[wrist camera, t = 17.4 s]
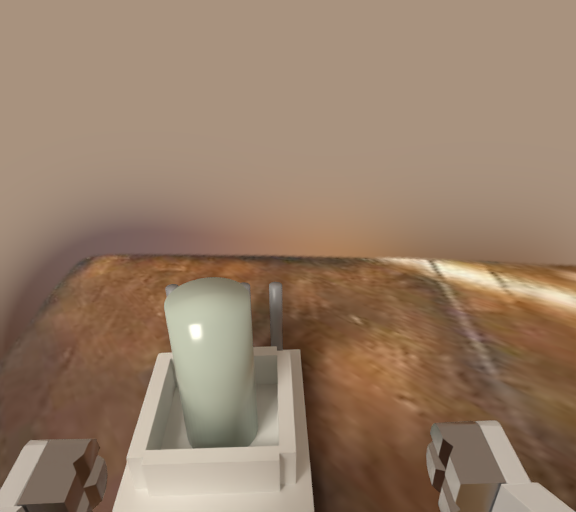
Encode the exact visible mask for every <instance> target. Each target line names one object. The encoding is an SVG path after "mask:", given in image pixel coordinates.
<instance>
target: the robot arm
mask: <svg viewBox="0 0 576 512" xmlns="http://www.w3.org/2000/svg"><path fill="white" fill-rule="evenodd" d="M430 434H431V437H432V440H433V441H432V442H431V443H430V444H429V445H428V447H427V454H426V457H427V468H428V473H429V477H430V480H431V483H432V486H433V487H434V488H435V489H436V490H437V491H439V492H440V497H439V502H438V505H439V508H440V511H441V512H575V511H574V510H573V509H571V508H570V507H569V506H567V505H566V504H565V503H564V502H562V501H561V500H560V499H558V498H557V497H556V496H555V495H553V494H552V493H551V492H549V491H548V490H547V489H546V488H544V487H543V486H542V485H541V484H539V483H538V482H531V481H530V479H529V477H528V475H527V473H526V471H525V470H524V468H523V466H522V464H521V462H520V460H519V458H518V456H517V455H516V453H515V451H514V449H513V447H512V445H511V443H510V441H509V440H508V438H507V436H506V434H505V432H504V430H503V428H502V426H501V425H500V423H498V422H497V421H496V420H491V421H475V422H474V421H462V422H445V423H434V424H433V425H432V427H431V432H430ZM99 449H100V446H99V444H98V442H97V439H56V440H30V441H29V442H28V443H27V444H26V445H25V446H24V447H23V449H22V451H21V453H20V455H19V457H18V458H17V460H16V462H15V464H14V466H13V468H12V469H11V471H10V473H9V475H8V477H7V479H6V481H5V482H4V484H3V486H2V488H1V490H0V512H93V511H92V510H93V509H94V508H95V507H96V506H97V505H98V504H99V503H100V502H101V501H102V499H103V496H104V493H105V490H106V484H107V476H108V475H107V466H106V463H105V460H104V459H103V458H101V457H100V456H98V452H99Z"/></svg>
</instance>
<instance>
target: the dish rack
mask: <svg viewBox="0 0 576 512" xmlns="http://www.w3.org/2000/svg"><path fill="white" fill-rule="evenodd" d="M240 284H242V285H243V286H244V287H246V289H247V290H248V292H249V294H250V285H249V284H248V283H240ZM177 287H179V286H178V285H176V284H171V285H168V286H167V287H166V294H167V297H168V295H169V294H170V293H171V292H172V291H173V290H174V289H176V288H177ZM269 296H270V333H271V347H253V353H254V368H255V384H256V400H257V415H258V431H257V435H256V437H255V439H254V440H253V442H252V443H251V444H250V445H249V446H248V447H226V448H196V449H193V448H192V447H191V445H190V444H189V441H188V438H187V433H186V427H185V421H184V416H183V410H182V405H181V399H180V393H179V388H178V382H177V377H176V371H175V365H174V360H173V354H172V353H160V354H158V357H157V360H156V363H155V367H154V370H153V373H152V376H151V380H150V383H149V386H148V389H147V393H146V396H145V399H144V403H143V406H142V409H141V412H140V416H139V419H138V422H137V425H136V429H135V432H134V435H133V438H132V442H131V445H130V448H129V451H128V455H127V464H126V468H125V471H124V474H123V478H122V481H121V484H120V488H119V491H118V494H117V497H116V501H115V504H114V507H113V511H112V512H314V503H313V492H312V480H311V469H310V458H309V446H308V435H307V424H306V412H305V401H304V390H303V378H302V367H301V355H300V349H293V350H283V327H282V284H281V283H279V282H272V283H270V284H269ZM250 305H251V297H250ZM251 321H252V316H251ZM252 337H253V335H252Z"/></svg>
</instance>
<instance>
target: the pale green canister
mask: <svg viewBox="0 0 576 512" xmlns="http://www.w3.org/2000/svg"><path fill="white" fill-rule="evenodd" d="M164 309H165V315H166V320H167V326H168V332H169V337H170V343H171V348H172V354H173V360H174V365H175V371H176V377H177V382H178V388H179V393H180V399H181V405H182V410H183V416H184V421H185V427H186V433H187V438H188V441H189V444H190V445H191V447H192V448H193V449H196V448H226V447H248V446H249V445H250V444H251V443H252V442H253V440H254V439H255V437H256V435H257V431H258V415H257V400H256V384H255V368H254V353H253V337H252V321H251V305H250V294H249V292H248V290H247V289H246V287H244V286H243V285H242V284H240V283H239V282H236V281H234V280H231V279H226V278H218V277H211V278H202V279H197V280H193V281H190V282H187V283H185V284H182V285H181V286H179V287H177V288H176V289H174V290H173V291H172V292H171V293H170V294H169V295H168V297H167V298H166V300H165V303H164Z"/></svg>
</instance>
